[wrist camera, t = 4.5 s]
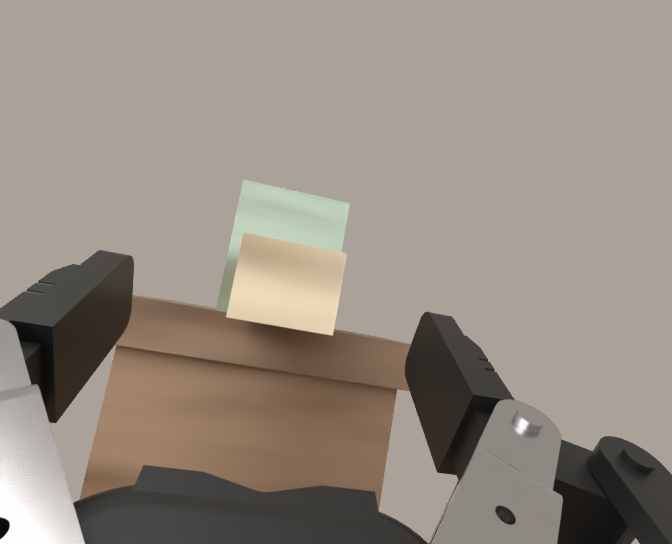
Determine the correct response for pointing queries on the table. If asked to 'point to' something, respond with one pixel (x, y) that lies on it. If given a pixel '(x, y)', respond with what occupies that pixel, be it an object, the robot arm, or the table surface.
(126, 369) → the tool tower
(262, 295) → the mint and tan block
